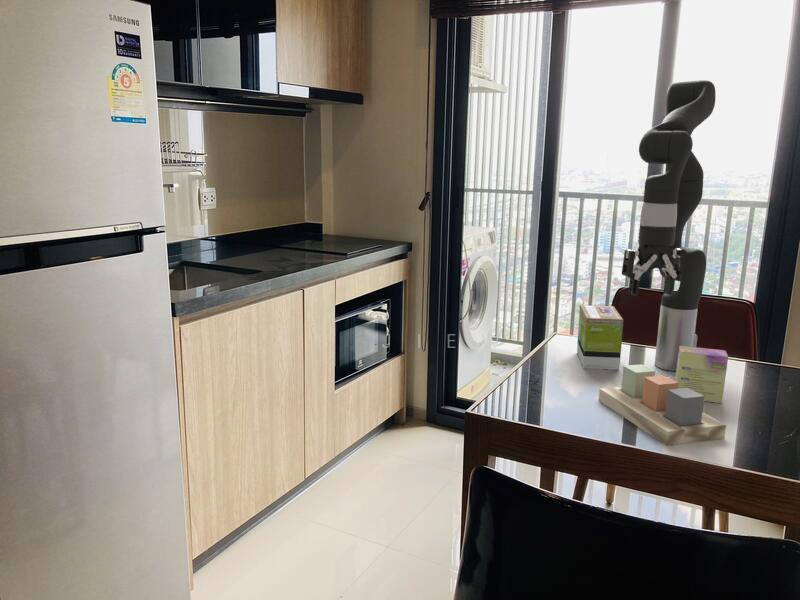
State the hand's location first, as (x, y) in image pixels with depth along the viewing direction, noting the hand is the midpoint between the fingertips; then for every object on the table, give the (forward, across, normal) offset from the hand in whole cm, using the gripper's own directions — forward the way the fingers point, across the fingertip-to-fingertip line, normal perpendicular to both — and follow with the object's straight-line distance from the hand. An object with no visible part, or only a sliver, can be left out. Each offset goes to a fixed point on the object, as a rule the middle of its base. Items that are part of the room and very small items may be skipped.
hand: (650, 294), depth 149 cm
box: (+26, -16, -1) cm, 31 cm away
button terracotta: (+24, +1, +9) cm, 25 cm away
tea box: (+26, -5, -30) cm, 41 cm away
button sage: (+24, +2, +1) cm, 24 cm away
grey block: (+24, +1, +17) cm, 29 cm away
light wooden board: (+26, +2, +9) cm, 28 cm away
